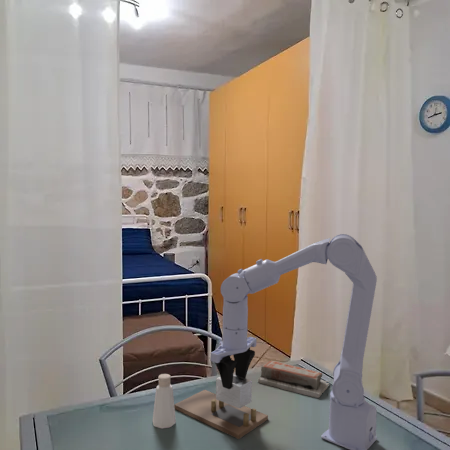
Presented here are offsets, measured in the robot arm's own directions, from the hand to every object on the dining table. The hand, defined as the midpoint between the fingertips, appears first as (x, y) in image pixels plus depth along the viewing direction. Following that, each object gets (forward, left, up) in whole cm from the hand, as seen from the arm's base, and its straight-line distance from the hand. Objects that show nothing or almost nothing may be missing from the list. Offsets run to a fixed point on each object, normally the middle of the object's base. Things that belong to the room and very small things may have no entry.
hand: (233, 384), depth 101 cm
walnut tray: (+4, 0, -9) cm, 9 cm away
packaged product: (0, -27, -9) cm, 28 cm away
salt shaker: (+11, +12, -9) cm, 18 cm away
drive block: (0, 0, -4) cm, 4 cm away
